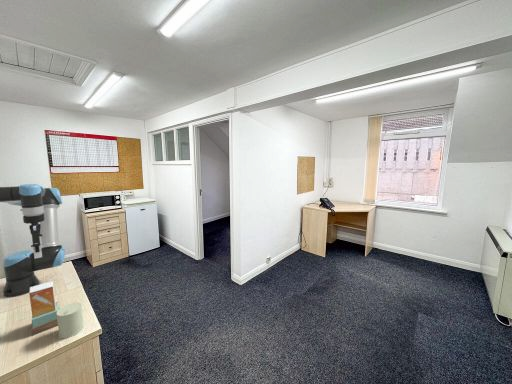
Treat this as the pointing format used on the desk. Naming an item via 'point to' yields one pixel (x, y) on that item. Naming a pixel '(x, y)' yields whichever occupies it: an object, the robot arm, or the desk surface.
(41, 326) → the bottom slab
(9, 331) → the desk surface
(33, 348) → the desk surface
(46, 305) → the small box
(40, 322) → the top slab
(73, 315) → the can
